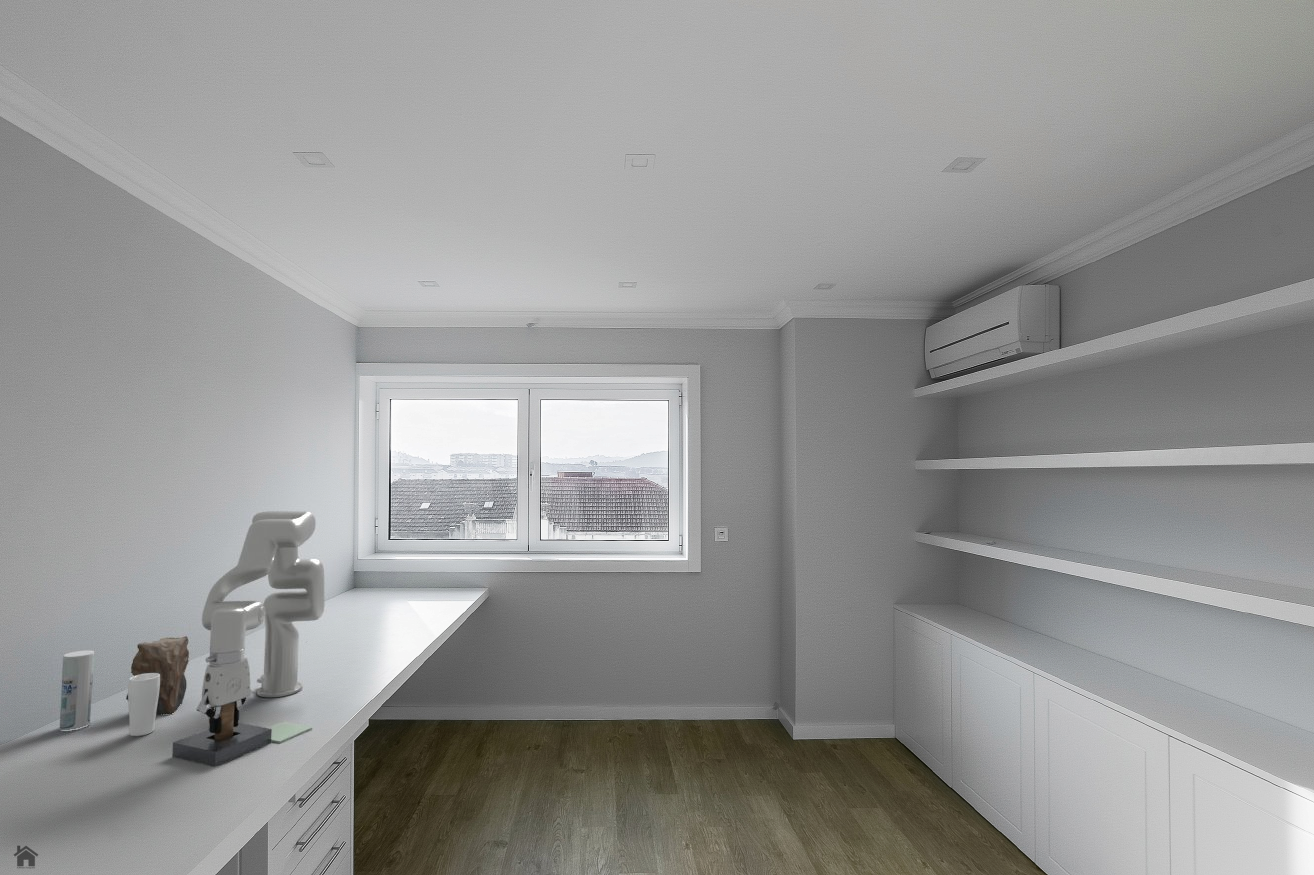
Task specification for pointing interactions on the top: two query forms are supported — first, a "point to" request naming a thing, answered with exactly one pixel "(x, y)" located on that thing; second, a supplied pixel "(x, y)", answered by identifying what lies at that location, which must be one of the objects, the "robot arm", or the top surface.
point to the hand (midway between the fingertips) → (224, 728)
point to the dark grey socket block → (221, 745)
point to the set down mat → (286, 731)
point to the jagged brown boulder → (164, 669)
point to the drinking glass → (143, 703)
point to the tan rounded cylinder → (226, 722)
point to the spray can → (76, 689)
